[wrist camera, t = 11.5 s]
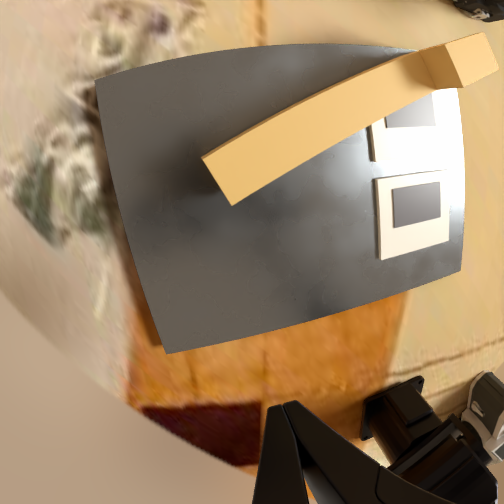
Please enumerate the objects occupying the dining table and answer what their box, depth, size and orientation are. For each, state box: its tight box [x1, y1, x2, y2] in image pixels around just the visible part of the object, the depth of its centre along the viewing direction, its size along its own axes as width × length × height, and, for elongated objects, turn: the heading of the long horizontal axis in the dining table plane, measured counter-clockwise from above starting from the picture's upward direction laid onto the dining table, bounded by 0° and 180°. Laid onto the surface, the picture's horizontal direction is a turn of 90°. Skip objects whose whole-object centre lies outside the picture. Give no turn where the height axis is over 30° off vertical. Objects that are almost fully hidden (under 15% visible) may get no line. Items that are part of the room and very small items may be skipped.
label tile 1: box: [375, 169, 450, 260], centre depth 18 cm, size 5×6×1 cm
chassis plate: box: [95, 44, 465, 354], centre depth 17 cm, size 16×22×1 cm
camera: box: [456, 370, 504, 466], centre depth 27 cm, size 16×9×10 cm, turn 24°
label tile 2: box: [369, 90, 448, 162], centre depth 16 cm, size 5×6×1 cm
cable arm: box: [201, 32, 499, 206], centre depth 13 cm, size 16×2×5 cm, turn 121°
